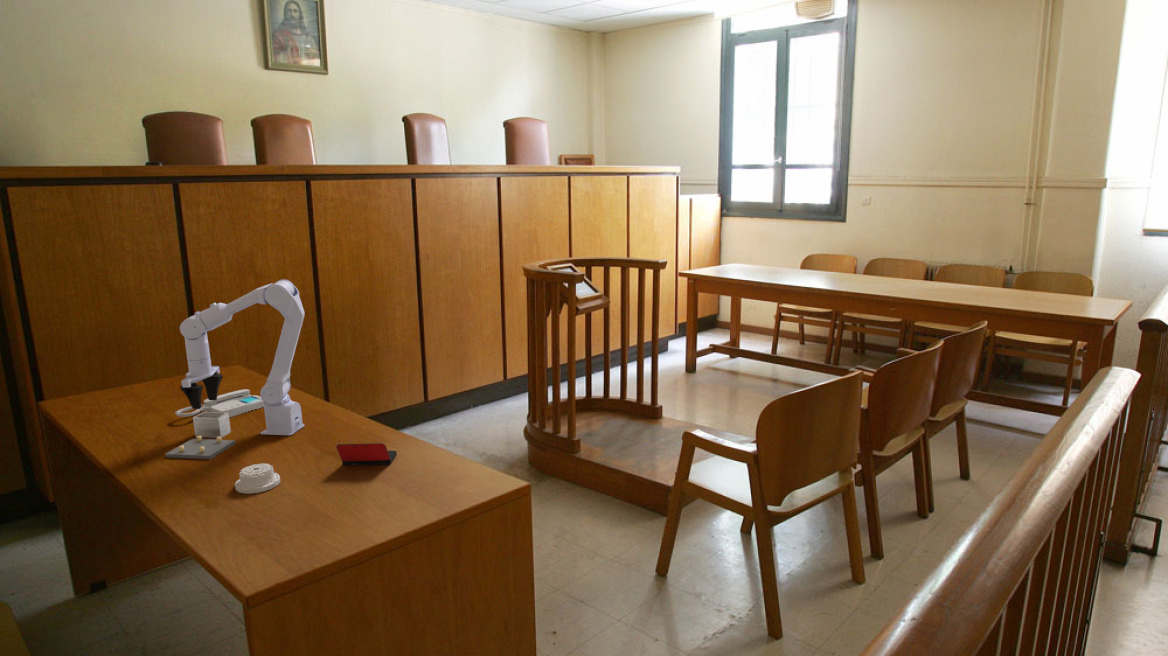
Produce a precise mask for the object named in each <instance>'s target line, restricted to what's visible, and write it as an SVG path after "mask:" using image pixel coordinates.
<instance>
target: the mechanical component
mask: <svg viewBox="0 0 1168 656" xmlns="http://www.w3.org/2000/svg"><path fill="white" fill-rule="evenodd" d="M273 466H274V465H271V464H270V463H262V462H261V463H257V464H252V465H249V466H245V467H243V468H242V469H240V471H239V473H238V474H239V479H238V480H236V482H235V483H234V488H235V490H236V492H238V493H240V494H249V495H250V494H259V493H262V492H266V491H270V490H272V489H274V488H275V487H277V486H278V485H279V484H280V483H281V476H280V475H279V473H278V472H275V471H274V467H273Z"/></svg>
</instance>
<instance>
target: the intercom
mask: <svg viewBox="0 0 1168 656" xmlns="http://www.w3.org/2000/svg"><path fill="white" fill-rule="evenodd" d="M250 391H251V390H250V389H246V388H245V389H239V390H234V391H231V392H227V393H223V394H220V395H219V394H218V395H217V400H209V399H208V398H206V399H204V400H203V404H202V403H201V408H200V409H195V410H194V409H193V408H192V406H191V405H190V406H187V407H184V408H180V409H178V410H177V411H175V412H174V414H175V415H176V416H177V417H178V418H181V417H183V418H184V417H185V418H186V417H192V416H196V415H199V414H200V412H215V413H228V414H229V418H233V417H237V416H239V415H242V413H243V414H245V412H246V413H249V412H248V411H250V412H252V411H251V410H253V411H256V410H255V409H257V410H260V409H263V408H264V402H263V400H262V399H261V396H260V395H254V394H253V395H252V394H250ZM262 407H263V408H262ZM259 408H260V409H259ZM192 410H193V411H192ZM188 411H192V412H188Z"/></svg>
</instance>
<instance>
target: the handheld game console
mask: <svg viewBox="0 0 1168 656" xmlns="http://www.w3.org/2000/svg"><path fill="white" fill-rule="evenodd" d="M336 451H337V453H338V454H339V457H340V459H341V461H342V462H341V463H342V466H345V467H348V466H364V465H366V466H367V465H368V466H389V465H392V462H393V461H394V459H395V458H396V456H397V455H398V453H397V451H396V450H388V448H387V446H386V444H385V443H379V442H377V443H347V444H346V443H345V444H344V443H343V444H337V445H336Z"/></svg>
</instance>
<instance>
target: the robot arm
mask: <svg viewBox="0 0 1168 656" xmlns="http://www.w3.org/2000/svg"><path fill="white" fill-rule="evenodd" d="M255 304H260V305H267V304H269V305H270V306H271V307H272V308H274V309H275V310H277V311H278V312H279V313H280V314H281V315H282V318H284V321H283V324H282V328H281V333H280V336H279V339H278V345H277V347H276V351H275V354H274V359H273V363H272V365H271V366H272V367H271V370H270V372H269V374H268V377H267V379H266V382H265V384H264V385H263V386H262V387H261V390H260V393H259V394H260V395H259V396H260V397H261V399H262V400H263V402H264V407H263V409H264V416H265V426H266V429H264V430H262V431H261V432H260V434H261V435H267V436H268V435H270V436H274V435H275V436H292V435H293V434H295V433H297V432H298V431H299V430H301V429H302V428H303V427H305V424H304V423H303V415H302V413H303V412H302V407H301V404H300V403H299V402H298V401H293V400H292V399H291V397H290V394H288V393H289V391H290V390H291V381H290V377H291V369H292V365H293V359H294V357H295V353H296V348H297V345H298V341H299V338H300V334H301V331H302V330H301V329H302V327H303V322H304V319H305V315H306V314H305V309H304V307H303V304H302V300H301V298H300V291H299V290H298V288H297V287H296V286H295V285H294V283H292V281H290V280H288V279H280V280H279V279H278V280H277V281H276V282H274V283H273V282H272V283H268V284H266V285H263V286H260V287H258V288H255V289H254V290H252V291H250V292H248V293H246V294H244V295H243V296H241V297H238V298H237V299H235V300H233V301H232V302H231V301H230V302H229V303H227V304H226V303H223V302H218V303H216V302H214V303H212V304H209V307H208V308H206V309H204V310H202V311H196V312H194V315H191V316H189V317H188V318H185V319H184V320H183V321H182V322H181V323H180V326H179V331H180V334H181V335H182V336H183V337H184V341H185V342H184V345H185V351H186V352H185V353H186V359H187V367H188V372H187V373H185V376H186V377H185V378H183V379H181V385H179V386H180V387H179V388H180V390H181V391H182V392H183V394H185V396H186V397H187V400H188V401H189V403H190V407H191V406H192V408H193V409H192V410H197V409H200V408H201V404H202V392H203V391H202V390H203V388H204V387H205V391H206V396H207V399H209V400H217V396H219V394H218V393H219V388H220V385H221V381H222V379H223V374H220V373H221V371H220V366H217V365H215V366H214V365H212V360H211V354H210V353H211V352H210V346H209V345H210V344H209V340H208V332H209V331H210V332H211V331H213V330H214V329H217V328H219V327H221V326H222V325H225V324H227V323H229V322H230V321H232V318H233V315H234V314H236V313H238V312H240V311H242V310H245V309H247V308H249V307H251V306H253V305H255ZM201 381H202V383H203V384H204V385H200V384H199V385H198V384H197V383H199V382H201Z"/></svg>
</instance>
